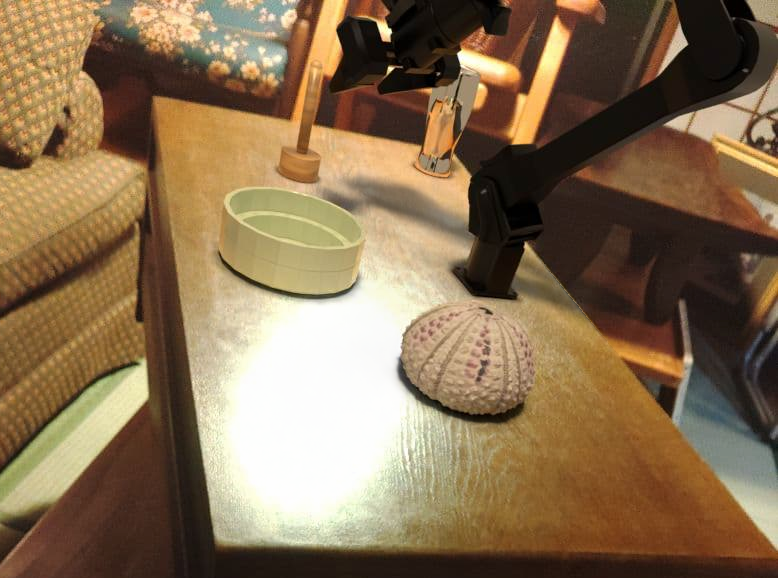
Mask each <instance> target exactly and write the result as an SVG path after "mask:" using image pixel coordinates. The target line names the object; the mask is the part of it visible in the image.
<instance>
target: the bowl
mask: <svg viewBox="0 0 778 578" xmlns="http://www.w3.org/2000/svg"><path fill="white" fill-rule="evenodd" d="M220 221H221V222H220V223H221V224H220V231H219V240H218V247H217V248H218V250H219V253H220V255H221V258H222V259H223V261H225V262H226V263H227V264H228V265H229V266H230V267H231V268H232V269H233V270H235V271H236V272H238V273H240V274H242V275H243V276H245V277H247V278H249V279H250V280H252V281H255V282H256V283H259V284H261V285H263V286H266V287H268V288H272V289H276V290H279V291H282V292H286V293H292V294H300V295H326V294H327V295H328V294H336V293H339V292H341V291H344V290H347V289H350V288H351V287H352V285H353V284H354V283H355V282H356V281H357V277H358V273H359V270H360V265H361V260H362V257H363V252H364V248H365V244H366V240H367V230H366V228H365V226H364V225H363V224H362V222H361V221H360V220H359V219H358V217H356V216H354V215H353V214H352V213H350V212H349V211H348V210H346V209H344V208H343V207H340V206H338V205H337V204H335V203H332V202H331V201H328V200H325V199H323V198H320V197H317V196H315V195H312V194H309V193H304V192H301V191H297V190H293V189H288V188H282V187H273V186H247V187H241V188H237V189H236V188H235V189H234V190H232V191H230V192H229V193H227V194H226V195H225V197H224V200H223V203H222V213H221V220H220Z"/></svg>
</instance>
